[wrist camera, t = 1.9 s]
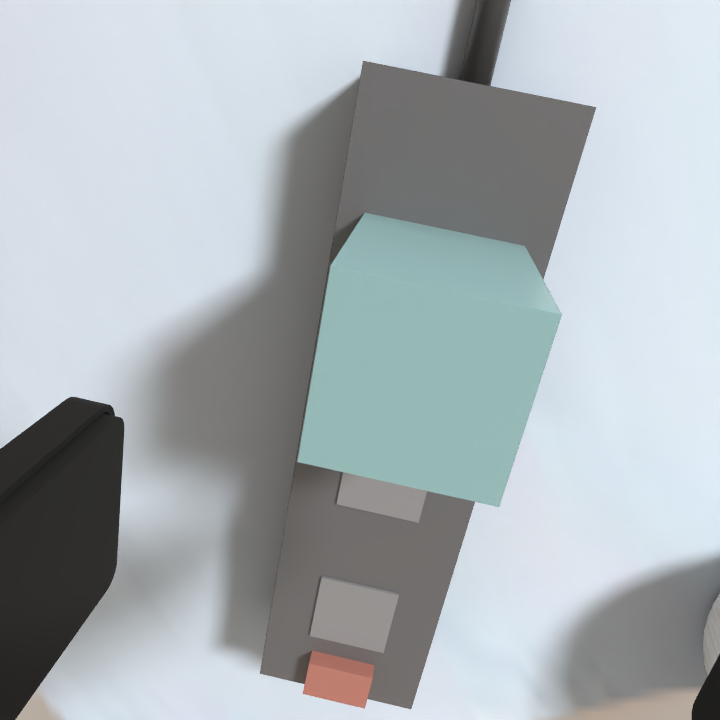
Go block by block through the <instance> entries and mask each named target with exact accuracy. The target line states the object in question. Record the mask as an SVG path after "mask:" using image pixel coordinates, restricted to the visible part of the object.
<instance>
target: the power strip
mask: <svg viewBox="0 0 720 720" xmlns="http://www.w3.org/2000/svg"><path fill="white" fill-rule="evenodd" d="M510 2H511V0H477V4H476V9H475V13H474V18H473V22H472V27H471V31H470V35H469V40H468V44H467V49H466V53H465V58H464V62H463V67H462V71H461V75H460V80H457V79H452V78H447V77H442V76H437V75H432V74H427V73H422V72H417V71H411V70H406V69H401V68H396V67H391V66H386V65H381V64H376V63H371V62H366V61H363V65H362V71H361V76H360V82H359V88H358V94H357V100H356V106H355V112H354V118H353V124H352V130H351V136H350V142H349V148H348V154H347V160H346V166H345V172H344V178H343V183H342V189H341V195H340V201H339V207H338V213H337V219H336V225H335V231H334V237H333V243H332V249H331V255H330V261H329V267H328V273H327V279H326V285H325V290H324V296H323V302H322V308H321V314H320V320H319V326H318V332H317V338H316V344H315V350H314V356H313V362H312V368H311V374H310V380H309V386H308V392H307V397H306V403H305V409H304V415H303V421H302V427H301V433H300V439H299V445H298V451H297V457H296V463H295V469H294V475H293V481H292V487H291V493H290V499H289V504H288V510H287V516H286V522H285V528H284V534H283V540H282V546H281V552H280V558H279V564H278V570H277V576H276V582H275V588H274V594H273V600H272V606H271V611H270V617H269V623H268V629H267V635H266V641H265V647H264V653H263V659H262V665H261V671H260V674H264V675H269V676H273V677H277V678H281V679H286V680H290V681H294V682H298V683H302V684H305V686H304V690H303V694H306V695H310V696H315V697H319V698H323V699H327V700H331V701H336V702H340V703H344V704H348V705H353V706H357V707H361V708H365V706H366V702H367V699H370V700H374V701H379V702H383V703H387V704H391V705H395V706H400V707H404V708H408V709H411V708H412V705H413V701H414V698H415V695H416V692H417V688H418V685H419V682H420V679H421V675H422V672H423V669H424V666H425V662H426V659H427V656H428V653H429V649H430V646H431V643H432V640H433V636H434V633H435V630H436V627H437V623H438V620H439V617H440V614H441V610H442V607H443V604H444V601H445V597H446V594H447V591H448V588H449V584H450V581H451V578H452V575H453V571H454V568H455V565H456V562H457V558H458V555H459V552H460V549H461V545H462V542H463V539H464V536H465V532H466V529H467V526H468V523H469V519H470V516H471V513H472V510H473V506H474V503H475V502H474V501H470V500H465V499H461V498H456V497H452V496H447V495H443V494H439V493H434V492H430V491H425V490H421V489H416V488H412V487H407V486H403V485H398V484H394V483H389V482H385V481H380V480H376V479H371V478H367V477H362V476H358V475H354V474H349V473H345V472H340V471H336V470H331V469H327V468H322V467H318V466H313V465H309V464H304V463H300V462H297V461H298V455H299V449H300V443H301V437H302V431H303V425H304V419H305V413H306V408H307V402H308V396H309V390H310V384H311V378H312V372H313V366H314V360H315V354H316V348H317V343H318V337H319V331H320V325H321V319H322V313H323V307H324V301H325V295H326V289H327V284H328V278H329V272H330V266H331V264H332V263H333V261H334V259H335V258H336V256H337V255H338V253H339V252H340V250H341V249H342V247H343V246H344V244H345V242H346V241H347V239H348V238H349V236H350V235H351V233H352V232H353V230H354V229H355V227H356V226H357V224H358V222H359V221H360V219H361V218H362V216H363V215H364V213H369V214H374V215H379V216H384V217H388V218H393V219H398V220H403V221H408V222H412V223H417V224H422V225H427V226H432V227H436V228H441V229H446V230H451V231H456V232H460V233H465V234H470V235H475V236H480V237H484V238H489V239H494V240H499V241H504V242H509V243H513V244H518V245H523V246H525V247H526V249H527V251H528V253H529V254H530V256H531V258H532V260H533V262H534V264H535V266H536V267H537V269H538V271H539V273H540V275H541V277H542V279H544V275H545V272H546V269H547V266H548V262H549V259H550V256H551V253H552V249H553V246H554V243H555V240H556V236H557V233H558V230H559V227H560V223H561V220H562V217H563V214H564V210H565V207H566V204H567V201H568V197H569V194H570V191H571V188H572V184H573V181H574V178H575V175H576V171H577V168H578V165H579V162H580V158H581V155H582V152H583V149H584V145H585V142H586V139H587V136H588V132H589V129H590V126H591V123H592V119H593V116H594V113H595V110H596V107H592V106H587V105H582V104H577V103H572V102H567V101H562V100H557V99H552V98H547V97H542V96H537V95H532V94H527V93H522V92H517V91H512V90H507V89H502V88H497V87H492V86H490V84H491V80H492V76H493V72H494V68H495V64H496V60H497V56H498V52H499V47H500V43H501V39H502V35H503V31H504V27H505V23H506V19H507V15H508V10H509V6H510Z"/></svg>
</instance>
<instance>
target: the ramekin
mask: <svg viewBox="0 0 720 720" xmlns="http://www.w3.org/2000/svg"><path fill="white" fill-rule="evenodd" d="M703 651H704V655H703V657H704V664H705V669H706V673H707V677H708V675H709V673H710V671H711V669H712V667H713V665H714V663H715V662H716V660H717V658H718V656H719V654H720V593H719V595H718V596H717V598H716V600H715V602H714V603H713V606H712V609H711V610H710V612H709V614H708V617H707V623H706V626H705V629H704V640H703Z"/></svg>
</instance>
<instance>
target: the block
mask: <svg viewBox="0 0 720 720" xmlns="http://www.w3.org/2000/svg"><path fill="white" fill-rule="evenodd" d="M561 316H562V314H561V312H560V310H559V308H558V306H557V304H556V303H555V301H554V299H553V297H552V295H551V293H550V291H549V290H548V288H547V286H546V284H545V282H544V280H543V279H542V277H541V275H540V273H539V271H538V269H537V267H536V266H535V264H534V262H533V260H532V258H531V256H530V254H529V253H528V251H527V249H526V247H525V246H523V245H518V244H513V243H509V242H504V241H499V240H494V239H489V238H484V237H480V236H475V235H470V234H465V233H460V232H456V231H451V230H446V229H441V228H436V227H432V226H427V225H422V224H417V223H412V222H408V221H403V220H398V219H393V218H388V217H384V216H379V215H374V214H369V213H364V215H363V216H362V218H361V219H360V221H359V222H358V224H357V226H356V227H355V229H354V230H353V232H352V233H351V235H350V236H349V238H348V239H347V241H346V242H345V244H344V246H343V247H342V249H341V250H340V252H339V253H338V255H337V256H336V258H335V259H334V261H333V263H332V264H331V266H330V272H329V278H328V284H327V289H326V295H325V301H324V307H323V313H322V319H321V325H320V331H319V337H318V343H317V348H316V354H315V360H314V366H313V372H312V378H311V384H310V390H309V396H308V402H307V408H306V413H305V419H304V425H303V431H302V437H301V443H300V449H299V455H298V461H297V462H300V463H304V464H309V465H313V466H318V467H322V468H327V469H331V470H336V471H340V472H345V473H349V474H354V475H358V476H362V477H367V478H371V479H376V480H380V481H385V482H389V483H394V484H398V485H403V486H407V487H412V488H416V489H421V490H425V491H430V492H434V493H439V494H443V495H447V496H452V497H456V498H461V499H465V500H470V501H474V502H479V503H483V504H488V505H492V506H497V507H499V505H500V502H501V499H502V496H503V493H504V490H505V487H506V484H507V481H508V478H509V475H510V472H511V469H512V466H513V463H514V460H515V457H516V453H517V450H518V447H519V444H520V441H521V438H522V435H523V432H524V429H525V426H526V423H527V420H528V417H529V414H530V411H531V408H532V405H533V401H534V398H535V395H536V392H537V389H538V386H539V383H540V380H541V377H542V374H543V371H544V368H545V365H546V362H547V359H548V356H549V352H550V349H551V346H552V343H553V340H554V337H555V334H556V331H557V328H558V325H559V322H560V319H561Z"/></svg>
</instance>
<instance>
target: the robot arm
mask: <svg viewBox="0 0 720 720" xmlns="http://www.w3.org/2000/svg"><path fill="white" fill-rule="evenodd" d="M123 442H124V422H123V419H122V418H120V417H116V416H115V413H114V410H113V408H112V407H111V405H107V404H103V403H99V402H94V401H90V400H85V399H81V398H77V397H70V398H68V399H66V400H65V401H63V402H62V403H61V404H59V405H58V406H57V407H55V408H54V409H53V410H52V411H50V412H49V413H48V414H46V415H45V416H44V417H42V418H41V419H40V420H38V421H37V422H36V423H34V424H33V425H32V426H30V427H29V428H28V429H26V430H25V431H24V432H22V433H21V434H20V435H18V436H17V437H16V438H14V439H13V440H12V441H10V442H9V443H8V444H6V445H5V446H4V447H3V448H1V449H0V720H15V719H16V718H17V716H18V715H19V714H20V712H21V711H22V709H23V708H24V707H25V705H26V704H27V702H28V701H29V699H30V698H31V697H32V695H33V694H34V692H35V691H36V690H37V688H38V687H39V685H40V684H41V683H42V681H43V680H44V678H45V677H46V675H47V674H48V673H49V671H50V670H51V668H52V667H53V666H54V664H55V663H56V661H57V660H58V659H59V657H60V656H61V654H62V653H63V652H64V650H65V649H66V647H67V646H68V644H69V643H70V642H71V640H72V639H73V637H74V636H75V635H76V633H77V632H78V630H79V629H80V628H81V626H82V625H83V623H84V622H85V620H86V619H87V618H88V616H89V615H90V613H91V612H92V611H93V609H94V608H95V606H96V605H97V604H98V602H99V601H100V599H101V598H102V597H103V595H104V594H105V592H106V591H107V589H108V588H109V586H110V584H111V582H112V579H113V577H114V574H115V570H116V565H117V550H118V532H119V514H120V496H121V478H122V460H123ZM692 720H720V654H719V656H718V658H717V660H716V662H715V663H714V665H713V667H712V669H711V671H710V673H709V675H708V677H707V679H706V681H705V683H704V684H703V686H702V688H701V690H700V692H699V694H698V696H697V698H696V700H695V702H694V705H693V709H692Z"/></svg>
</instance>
